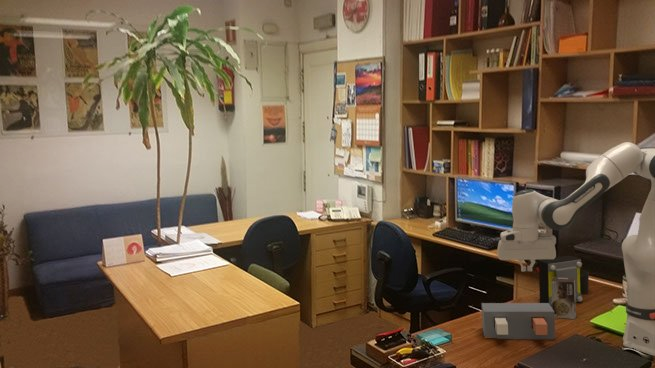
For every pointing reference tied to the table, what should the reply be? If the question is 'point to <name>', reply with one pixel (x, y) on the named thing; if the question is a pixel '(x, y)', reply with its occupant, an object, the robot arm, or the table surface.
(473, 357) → the table surface
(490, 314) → the block
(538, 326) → the rust plug
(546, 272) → the electrical component
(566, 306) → the coffee box
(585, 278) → the pen holder
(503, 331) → the beige plug
